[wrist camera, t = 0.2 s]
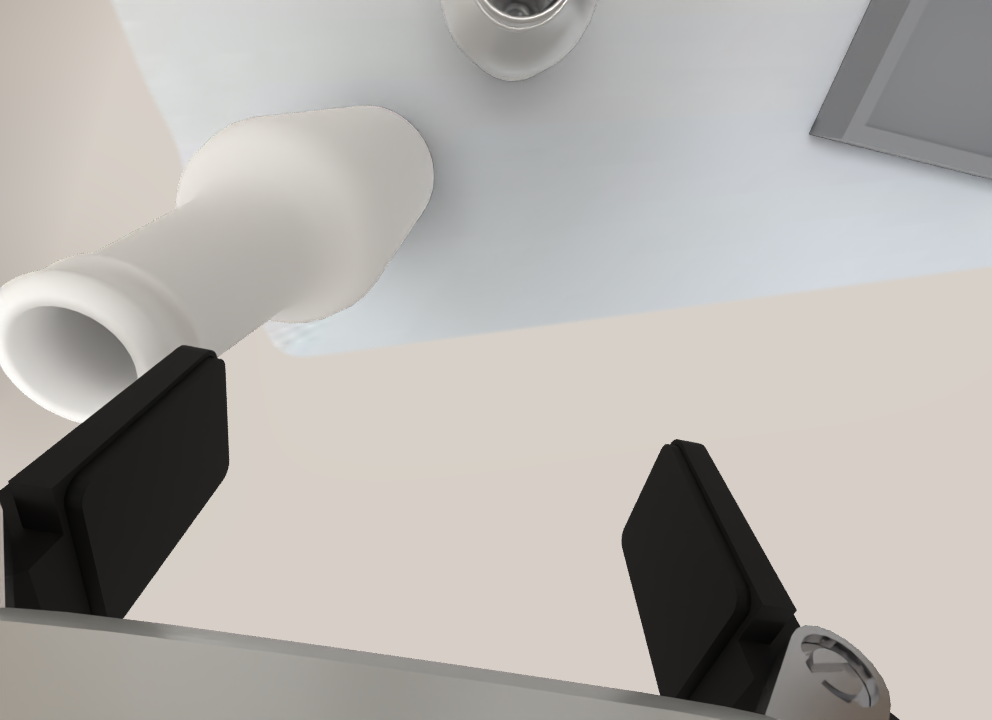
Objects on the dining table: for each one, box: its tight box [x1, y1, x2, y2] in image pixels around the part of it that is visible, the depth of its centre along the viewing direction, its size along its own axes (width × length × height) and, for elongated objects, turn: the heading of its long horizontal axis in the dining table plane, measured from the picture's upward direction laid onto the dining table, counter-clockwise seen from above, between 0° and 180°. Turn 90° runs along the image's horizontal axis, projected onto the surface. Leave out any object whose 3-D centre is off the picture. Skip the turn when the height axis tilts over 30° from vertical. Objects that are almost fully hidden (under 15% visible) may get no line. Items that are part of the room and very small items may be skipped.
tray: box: [809, 0, 992, 180], centre depth 32 cm, size 12×16×4 cm
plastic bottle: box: [441, 0, 597, 81], centre depth 24 cm, size 6×7×20 cm
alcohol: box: [0, 105, 434, 423], centre depth 24 cm, size 9×9×30 cm
